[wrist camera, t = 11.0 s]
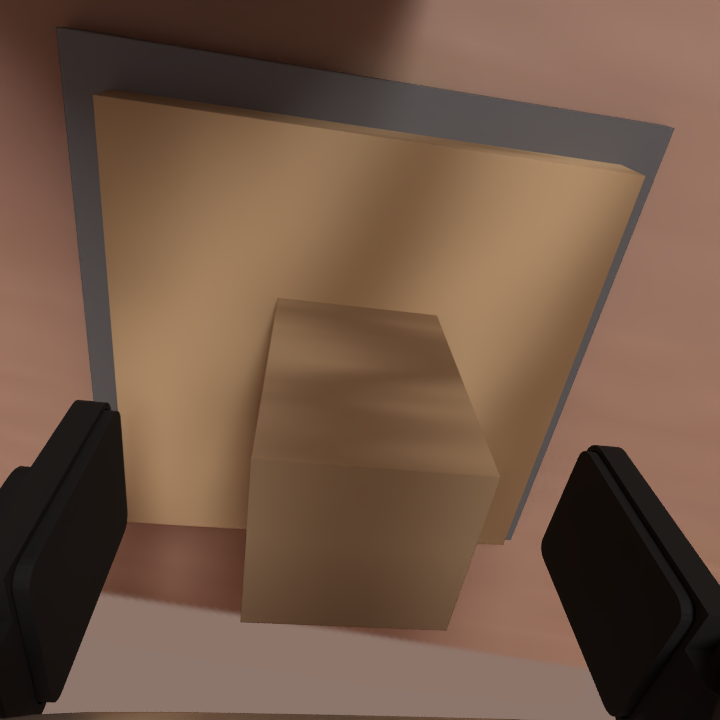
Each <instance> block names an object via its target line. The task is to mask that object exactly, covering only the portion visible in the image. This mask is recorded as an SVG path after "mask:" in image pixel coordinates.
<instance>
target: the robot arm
mask: <svg viewBox="0 0 720 720" xmlns="http://www.w3.org/2000/svg"><path fill="white" fill-rule="evenodd" d="M127 517H128V510H127V496H126V483H125V469H124V455H123V441H122V428H121V416H120V413H119V411H111V407H110V404H109V403H107V402H95V401H84V400H76V401H75V402H74V403H73V404H72V406H71V407H70V409H69V410H68V412H67V413H66V415H65V416H64V418H63V419H62V421H61V422H60V424H59V425H58V427H57V428H56V430H55V431H54V433H53V434H52V436H51V437H50V439H49V440H48V442H47V443H46V445H45V446H44V448H43V449H42V451H41V453H40V454H39V456H38V457H37V459H36V460H35V462H34V463H33V465H32V466H31V467H24V466H20V467H18V468H16V469H14V471H13V472H12V473H11V474H10V475H9V476H8V478H7V479H6V481H5V482H4V484H3V485H2V487H1V488H0V720H518V719H482V718H441V717H440V718H439V717H399V716H354V715H308V714H307V715H306V714H252V713H251V714H250V713H198V712H196V713H195V712H193V713H192V712H83V713H61V714H42V712H43V710H44V707H45V705H46V702H56V701H57V700H58V698H59V697H60V695H61V692H62V690H63V688H64V685H65V682H66V680H67V677H68V675H69V672H70V670H71V667H72V665H73V662H74V660H75V657H76V654H77V652H78V649H79V647H80V644H81V642H82V639H83V636H84V634H85V631H86V629H87V626H88V624H89V621H90V619H91V616H92V614H93V611H94V608H95V606H96V603H97V601H98V598H99V596H100V593H101V591H102V588H103V586H104V583H105V580H106V578H107V575H108V573H109V570H110V568H111V565H112V563H113V560H114V557H115V555H116V552H117V550H118V547H119V545H120V542H121V540H122V537H123V534H124V532H125V528H126V524H127ZM541 551H542V556H543V559H544V562H545V564H546V566H547V569H548V571H549V574H550V576H551V579H552V581H553V583H554V586H555V588H556V591H557V593H558V595H559V598H560V600H561V603H562V605H563V608H564V610H565V612H566V615H567V617H568V620H569V622H570V625H571V627H572V629H573V632H574V634H575V637H576V639H577V642H578V644H579V646H580V649H581V651H582V654H583V656H584V658H585V661H586V663H587V666H588V668H589V671H590V673H591V675H592V678H593V680H594V683H595V684H596V688H597V690H598V692H599V695H600V697H601V700H602V702H603V705H604V707H605V708H606V710H607V712H608V713H609V714H610V715H611V716H615V718H616V720H720V585H719V584H718V582H717V581H716V579H715V578H714V577H713V575H712V574H711V572H710V571H709V570H708V568H707V567H706V565H705V564H704V563H703V561H702V560H701V558H700V557H699V555H698V554H697V553H696V551H695V550H694V548H693V547H692V546H691V544H690V543H689V541H688V540H687V539H686V537H685V536H684V534H683V533H682V531H681V530H680V529H679V527H678V526H677V524H676V523H675V522H674V520H673V519H672V517H671V516H670V514H669V513H668V512H667V510H666V509H665V507H664V506H663V505H662V503H661V502H660V500H659V499H658V498H657V496H656V495H655V493H654V492H653V490H652V489H651V488H650V486H649V485H648V483H647V482H646V481H645V479H644V478H643V476H642V475H641V474H640V472H639V471H638V469H637V468H636V466H635V465H634V464H633V462H632V461H631V459H630V458H629V457H628V455H627V454H626V452H625V451H624V450H623V449H622V448H619V447H610V446H599V445H593V446H591V447H589V448H588V450H587V451H584V452H582V453H581V454H580V455H579V457H578V459H577V462H576V464H575V466H574V468H573V471H572V473H571V475H570V478H569V480H568V482H567V484H566V487H565V489H564V491H563V494H562V496H561V498H560V500H559V503H558V505H557V507H556V510H555V512H554V514H553V517H552V519H551V521H550V523H549V526H548V528H547V530H546V533H545V535H544V537H543V540H542V545H541Z"/></svg>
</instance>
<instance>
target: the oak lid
mask: <svg viewBox="0 0 720 720" xmlns="http://www.w3.org/2000/svg"><path fill="white" fill-rule="evenodd" d="M93 104H94V116H95V129H96V141H97V154H98V166H99V179H100V192H101V204H102V217H103V229H104V242H105V255H106V267H107V280H108V292H109V305H110V317H111V330H112V343H113V355H114V368H115V380H116V393H117V405H118V411H119V413H120V416H121V428H122V441H123V455H124V469H125V483H126V496H127V510H128V517H127V522H134V523H150V524H167V525H183V526H200V527H216V528H233V529H247V532H246V547H245V562H244V577H243V592H242V607H241V622H249V623H250V622H251V623H273V624H298V625H322V626H346V627H371V628H395V629H420V630H444V631H446V630H447V627H448V624H449V621H450V618H451V616H452V613H453V610H454V607H455V604H456V601H457V599H458V596H459V593H460V590H461V587H462V584H463V582H464V579H465V576H466V573H467V570H468V567H469V565H470V562H471V559H472V556H473V553H474V550H475V548H476V545H477V543H480V544H497V545H503V544H504V541H505V539H506V536H507V534H508V531H509V528H510V526H511V523H512V521H513V518H514V515H515V513H516V510H517V508H518V505H519V502H520V500H521V497H522V495H523V492H524V490H525V487H526V484H527V482H528V479H529V477H530V474H531V471H532V469H533V466H534V464H535V461H536V458H537V456H538V453H539V451H540V448H541V445H542V443H543V440H544V438H545V435H546V433H547V430H548V427H549V425H550V422H551V420H552V417H553V414H554V412H555V409H556V407H557V404H558V401H559V399H560V396H561V394H562V391H563V389H564V386H565V383H566V381H567V378H568V376H569V373H570V370H571V368H572V365H573V363H574V360H575V357H576V355H577V352H578V350H579V347H580V344H581V342H582V339H583V337H584V334H585V332H586V329H587V326H588V324H589V321H590V319H591V316H592V313H593V311H594V308H595V306H596V303H597V300H598V298H599V295H600V293H601V290H602V288H603V285H604V282H605V280H606V277H607V275H608V272H609V269H610V267H611V264H612V262H613V259H614V256H615V254H616V251H617V249H618V246H619V243H620V241H621V238H622V236H623V233H624V231H625V228H626V225H627V223H628V220H629V218H630V215H631V212H632V210H633V207H634V205H635V202H636V199H637V197H638V194H639V192H640V189H641V187H642V184H643V181H644V179H645V176H644V175H642V174H640V173H638V172H636V171H634V170H631V169H629V168H627V167H625V166H623V165H619V164H612V163H605V162H599V161H592V160H585V159H578V158H572V157H565V156H558V155H552V154H545V153H538V152H531V151H525V150H518V149H511V148H505V147H498V146H491V145H484V144H478V143H471V142H464V141H458V140H451V139H444V138H437V137H431V136H424V135H417V134H410V133H404V132H397V131H390V130H384V129H377V128H370V127H363V126H357V125H350V124H343V123H337V122H330V121H323V120H316V119H310V118H303V117H296V116H290V115H283V114H276V113H269V112H263V111H256V110H249V109H243V108H236V107H229V106H222V105H216V104H209V103H202V102H196V101H189V100H182V99H175V98H169V97H162V96H155V95H149V94H142V93H135V92H128V91H122V90H115V89H110V90H107V91H104V92H100V93H97V94H94V95H93Z"/></svg>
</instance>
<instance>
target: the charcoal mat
mask: <svg viewBox="0 0 720 720" xmlns="http://www.w3.org/2000/svg"><path fill="white" fill-rule="evenodd" d="M56 30H57V40H58V50H59V60H60V70H61V80H62V90H63V100H64V110H65V120H66V130H67V140H68V150H69V160H70V170H71V180H72V190H73V200H74V210H75V220H76V230H77V240H78V250H79V260H80V270H81V280H82V290H83V300H84V310H85V320H86V330H87V340H88V350H89V360H90V370H91V380H92V390H93V400H94V401H95V402H107V403H109V404H110V407H111V411H118V405H117V393H116V380H115V368H114V355H113V343H112V330H111V317H110V305H109V292H108V280H107V267H106V255H105V242H104V229H103V217H102V204H101V192H100V179H99V166H98V154H97V141H96V129H95V116H94V104H93V95H94V94H97V93H100V92H104V91H107V90H110V89H115V90H122V91H128V92H135V93H142V94H149V95H155V96H162V97H169V98H175V99H182V100H189V101H196V102H202V103H209V104H216V105H222V106H229V107H236V108H243V109H249V110H256V111H263V112H269V113H276V114H283V115H290V116H296V117H303V118H310V119H316V120H323V121H330V122H337V123H343V124H350V125H357V126H363V127H370V128H377V129H384V130H390V131H397V132H404V133H410V134H417V135H424V136H431V137H437V138H444V139H451V140H458V141H464V142H471V143H478V144H484V145H491V146H498V147H505V148H511V149H518V150H525V151H531V152H538V153H545V154H552V155H558V156H565V157H572V158H578V159H585V160H592V161H599V162H605V163H612V164H619V165H623V166H625V167H627V168H629V169H631V170H634V171H636V172H638V173H640V174H642V175H644V176H645V179H644V181H643V184H642V187H641V189H640V192H639V194H638V197H637V199H636V202H635V205H634V207H633V210H632V212H631V215H630V218H629V220H628V223H627V225H626V228H625V231H624V233H623V236H622V238H621V241H620V243H619V246H618V249H617V251H616V254H615V256H614V259H613V262H612V264H611V267H610V269H609V272H608V275H607V277H606V280H605V282H604V285H603V288H602V290H601V293H600V295H599V298H598V300H597V303H596V306H595V308H594V311H593V313H592V316H591V319H590V321H589V324H588V326H587V329H586V332H585V334H584V337H583V339H582V342H581V344H580V347H579V350H578V352H577V355H576V357H575V360H574V363H573V365H572V368H571V370H570V373H569V376H568V378H567V381H566V383H565V386H564V389H563V391H562V394H561V396H560V399H559V401H558V404H557V407H556V409H555V412H554V414H553V417H552V420H551V422H550V425H549V427H548V430H547V433H546V435H545V438H544V440H543V443H542V445H541V448H540V451H539V453H538V456H537V458H536V461H535V464H534V466H533V469H532V471H531V474H530V477H529V479H528V482H527V484H526V487H525V490H524V492H523V495H522V497H521V500H520V502H519V505H518V508H517V510H516V513H515V515H514V518H513V521H512V523H511V526H510V528H509V531H508V534H507V536H506V539H505V540H511V538H512V535H513V533H514V530H515V528H516V525H517V523H518V520H519V518H520V515H521V513H522V510H523V508H524V505H525V503H526V500H527V498H528V495H529V493H530V490H531V488H532V485H533V482H534V480H535V477H536V475H537V472H538V470H539V467H540V465H541V462H542V460H543V457H544V455H545V452H546V450H547V447H548V445H549V442H550V440H551V437H552V435H553V432H554V430H555V427H556V425H557V422H558V420H559V417H560V415H561V412H562V410H563V407H564V405H565V402H566V400H567V397H568V395H569V392H570V389H571V387H572V384H573V382H574V379H575V377H576V374H577V372H578V369H579V367H580V364H581V362H582V359H583V357H584V354H585V352H586V349H587V347H588V344H589V342H590V339H591V337H592V334H593V332H594V329H595V327H596V324H597V322H598V319H599V317H600V314H601V312H602V309H603V307H604V304H605V301H606V299H607V296H608V294H609V291H610V289H611V286H612V284H613V281H614V279H615V276H616V274H617V271H618V269H619V266H620V264H621V261H622V259H623V256H624V254H625V251H626V249H627V246H628V244H629V241H630V239H631V236H632V234H633V231H634V229H635V226H636V224H637V221H638V219H639V216H640V214H641V211H642V208H643V206H644V203H645V201H646V198H647V196H648V193H649V191H650V188H651V186H652V183H653V181H654V178H655V176H656V173H657V171H658V168H659V166H660V163H661V161H662V158H663V156H664V153H665V151H666V148H667V146H668V143H669V141H670V138H671V136H672V133H673V131H674V128H671V127H668V126H665V125H659V124H653V123H647V122H641V121H635V120H629V119H623V118H617V117H611V116H604V115H598V114H592V113H586V112H580V111H574V110H568V109H562V108H556V107H549V106H543V105H537V104H531V103H525V102H519V101H513V100H507V99H501V98H494V97H488V96H482V95H476V94H470V93H464V92H458V91H452V90H446V89H439V88H433V87H427V86H421V85H415V84H409V83H403V82H397V81H391V80H384V79H378V78H372V77H366V76H360V75H354V74H348V73H342V72H336V71H329V70H323V69H317V68H311V67H305V66H299V65H293V64H287V63H281V62H274V61H268V60H262V59H256V58H250V57H244V56H238V55H232V54H225V53H219V52H213V51H207V50H201V49H195V48H189V47H183V46H177V45H170V44H164V43H158V42H152V41H146V40H140V39H134V38H128V37H122V36H115V35H109V34H103V33H97V32H91V31H85V30H79V29H73V28H67V27H56Z"/></svg>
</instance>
